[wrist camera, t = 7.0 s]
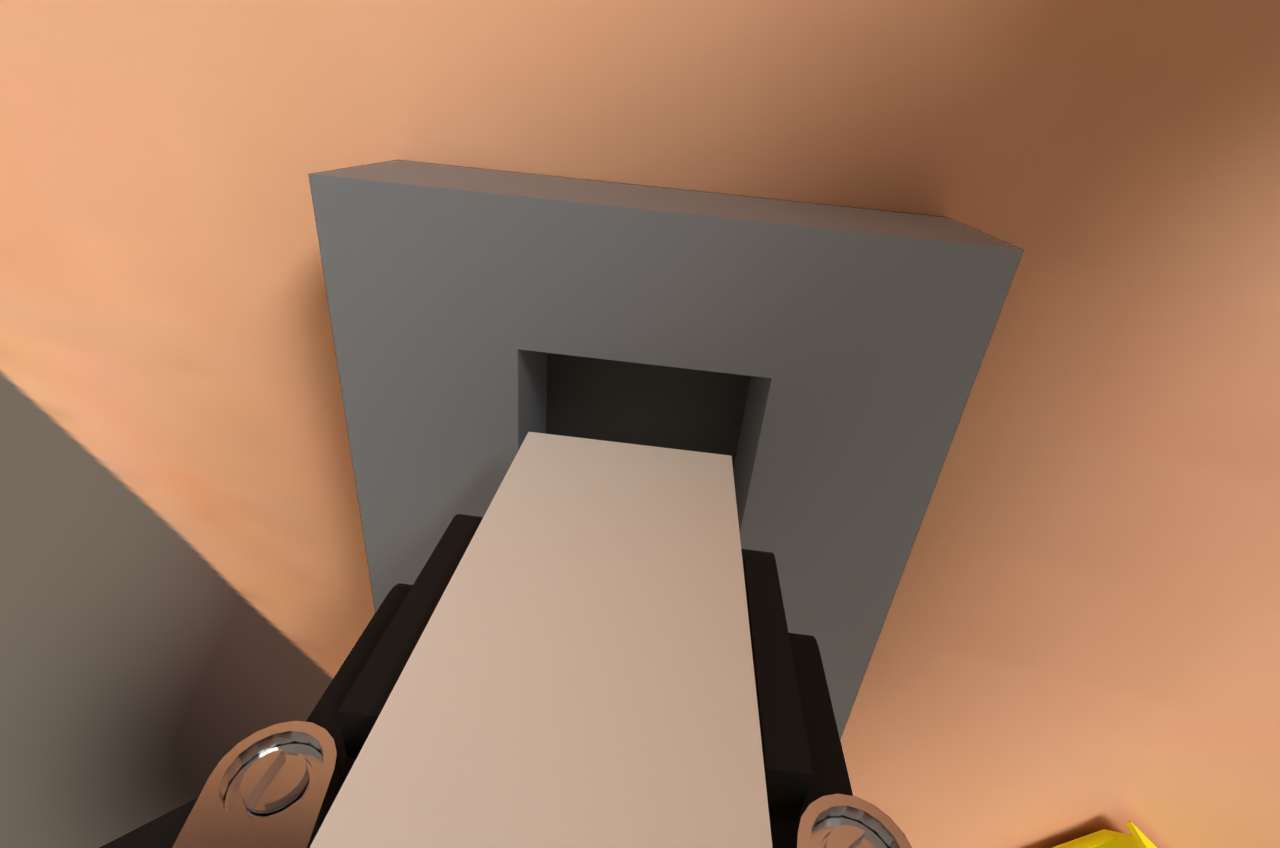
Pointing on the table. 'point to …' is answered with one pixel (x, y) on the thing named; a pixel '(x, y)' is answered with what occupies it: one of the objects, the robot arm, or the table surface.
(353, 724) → the robot arm
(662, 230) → the plate
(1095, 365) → the table surface
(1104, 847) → the yellow toy chassis
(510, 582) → the plug
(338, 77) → the table surface
